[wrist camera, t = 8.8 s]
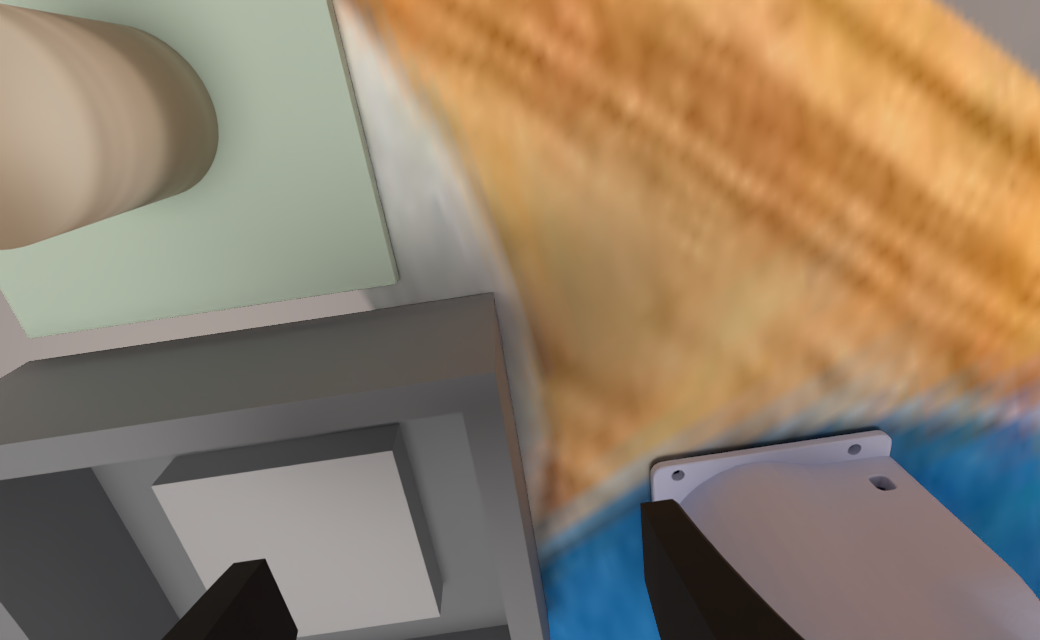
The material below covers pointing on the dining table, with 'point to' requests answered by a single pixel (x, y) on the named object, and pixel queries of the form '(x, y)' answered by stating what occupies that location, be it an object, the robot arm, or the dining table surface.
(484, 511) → the box
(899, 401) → the dining table surface
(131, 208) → the cylinder
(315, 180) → the mat
